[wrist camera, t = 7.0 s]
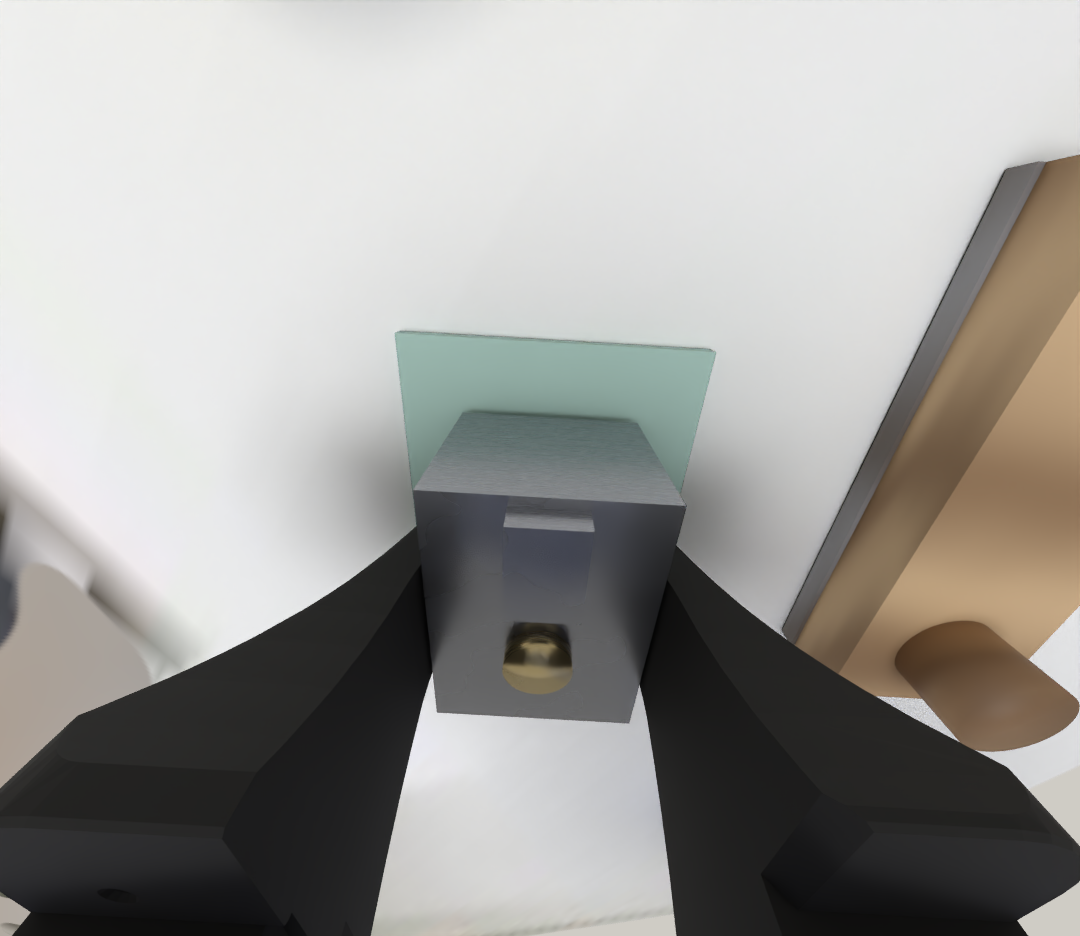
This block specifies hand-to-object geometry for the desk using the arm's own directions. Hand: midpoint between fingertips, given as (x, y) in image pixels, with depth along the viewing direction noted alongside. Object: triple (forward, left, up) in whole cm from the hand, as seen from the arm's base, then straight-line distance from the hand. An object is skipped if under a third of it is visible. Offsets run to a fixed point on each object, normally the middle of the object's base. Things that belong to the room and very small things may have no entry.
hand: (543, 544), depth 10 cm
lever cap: (0, 0, -1) cm, 1 cm away
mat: (0, 0, -2) cm, 2 cm away
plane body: (+2, -12, -2) cm, 12 cm away
